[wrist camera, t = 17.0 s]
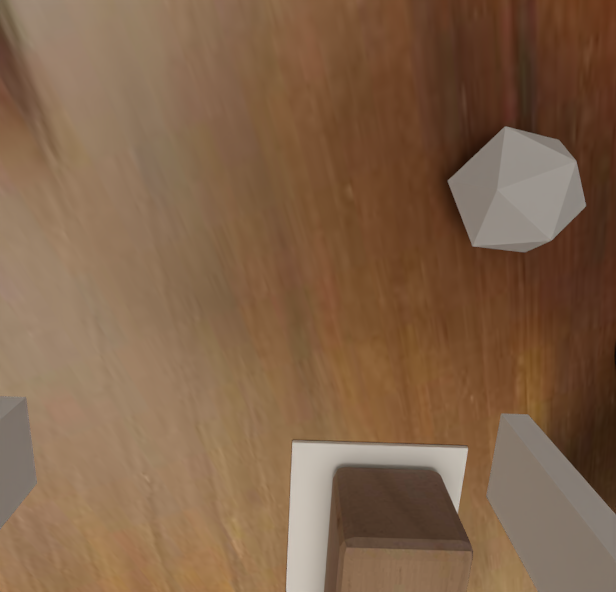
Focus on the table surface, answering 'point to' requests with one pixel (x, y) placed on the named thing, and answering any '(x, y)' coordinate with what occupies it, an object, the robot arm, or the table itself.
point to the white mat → (318, 489)
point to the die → (518, 191)
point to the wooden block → (394, 533)
